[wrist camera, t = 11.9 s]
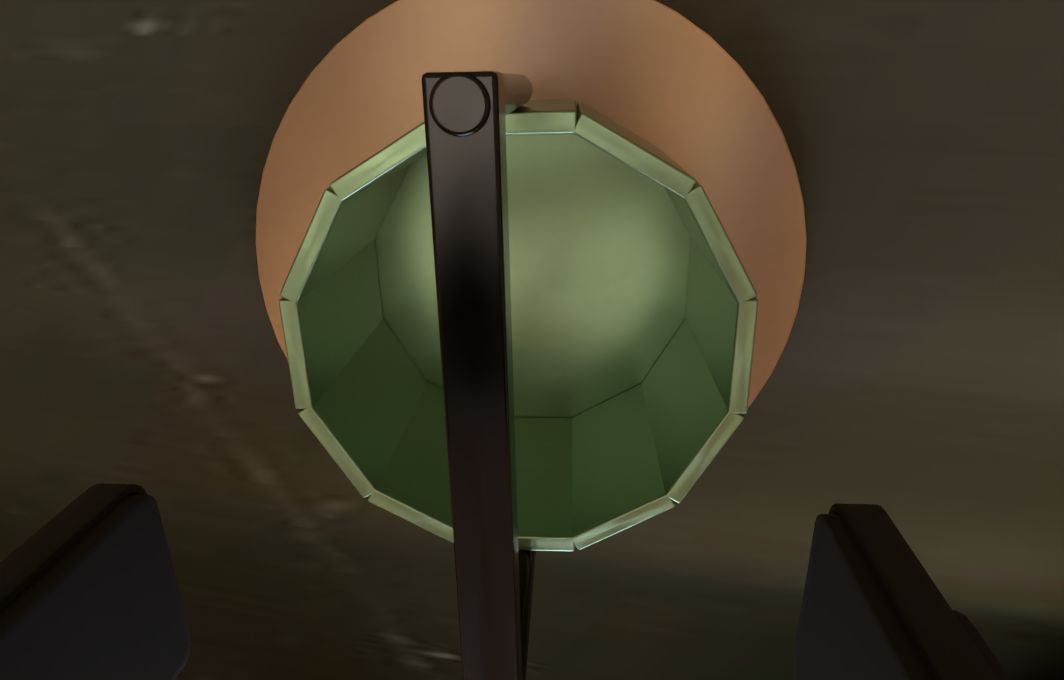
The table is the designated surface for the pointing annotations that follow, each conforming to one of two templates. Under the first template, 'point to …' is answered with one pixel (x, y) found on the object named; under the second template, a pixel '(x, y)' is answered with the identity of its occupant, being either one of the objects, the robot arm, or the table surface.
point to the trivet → (555, 74)
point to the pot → (517, 337)
